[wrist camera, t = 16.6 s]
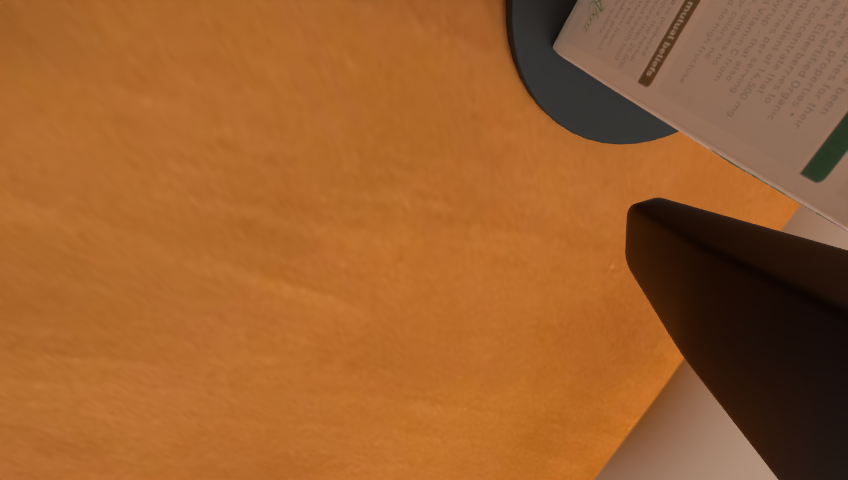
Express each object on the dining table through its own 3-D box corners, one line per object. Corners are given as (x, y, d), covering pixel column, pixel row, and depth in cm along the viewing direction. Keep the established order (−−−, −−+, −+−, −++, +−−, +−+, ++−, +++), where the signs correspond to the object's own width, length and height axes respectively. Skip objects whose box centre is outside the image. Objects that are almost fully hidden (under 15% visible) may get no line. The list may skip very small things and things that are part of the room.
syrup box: (544, 50, 21) (977, 343, 9) (648, -138, 18) (1414, -78, 7) (663, 110, 23) (1122, 399, 11) (768, -48, 21) (1472, 110, 9)
